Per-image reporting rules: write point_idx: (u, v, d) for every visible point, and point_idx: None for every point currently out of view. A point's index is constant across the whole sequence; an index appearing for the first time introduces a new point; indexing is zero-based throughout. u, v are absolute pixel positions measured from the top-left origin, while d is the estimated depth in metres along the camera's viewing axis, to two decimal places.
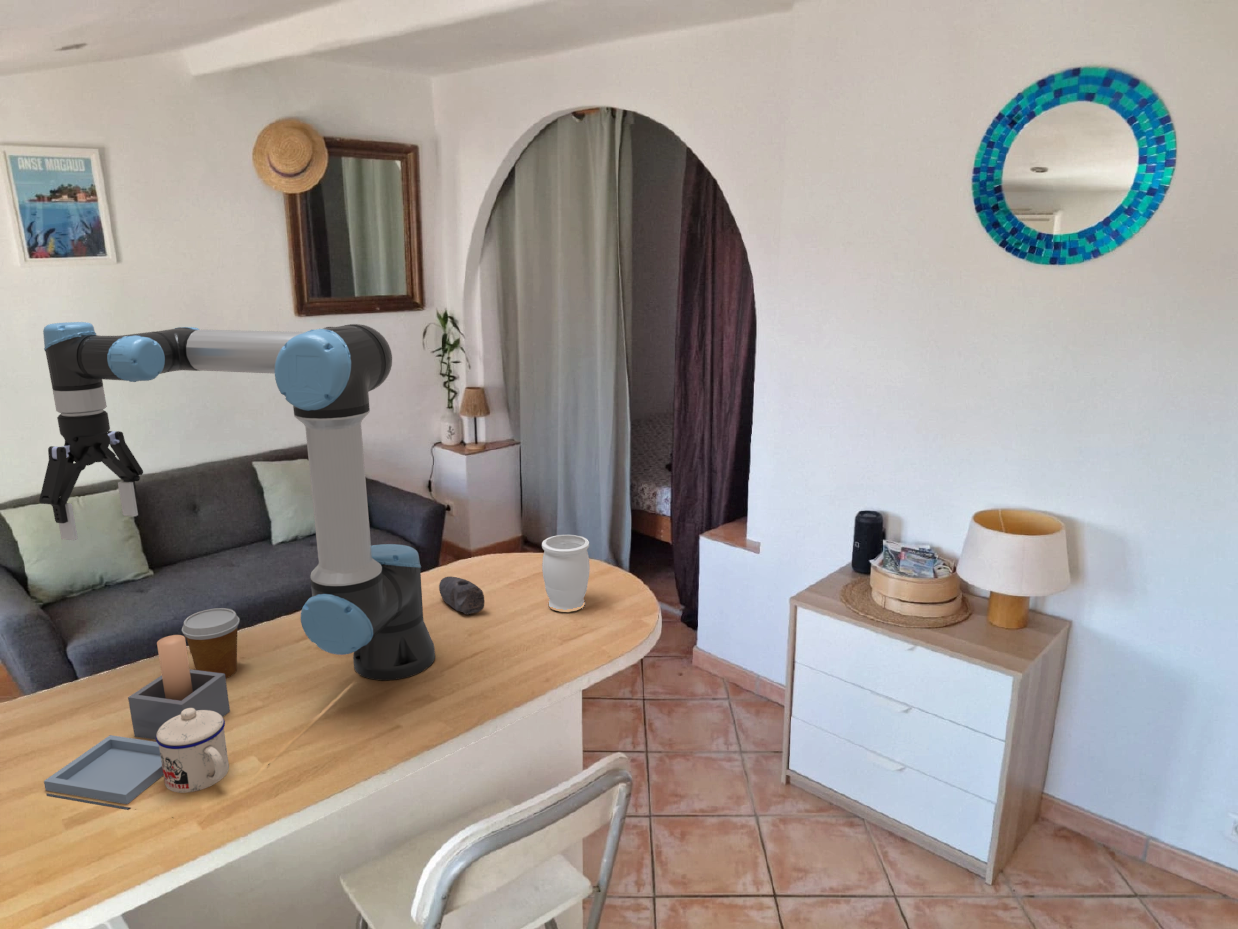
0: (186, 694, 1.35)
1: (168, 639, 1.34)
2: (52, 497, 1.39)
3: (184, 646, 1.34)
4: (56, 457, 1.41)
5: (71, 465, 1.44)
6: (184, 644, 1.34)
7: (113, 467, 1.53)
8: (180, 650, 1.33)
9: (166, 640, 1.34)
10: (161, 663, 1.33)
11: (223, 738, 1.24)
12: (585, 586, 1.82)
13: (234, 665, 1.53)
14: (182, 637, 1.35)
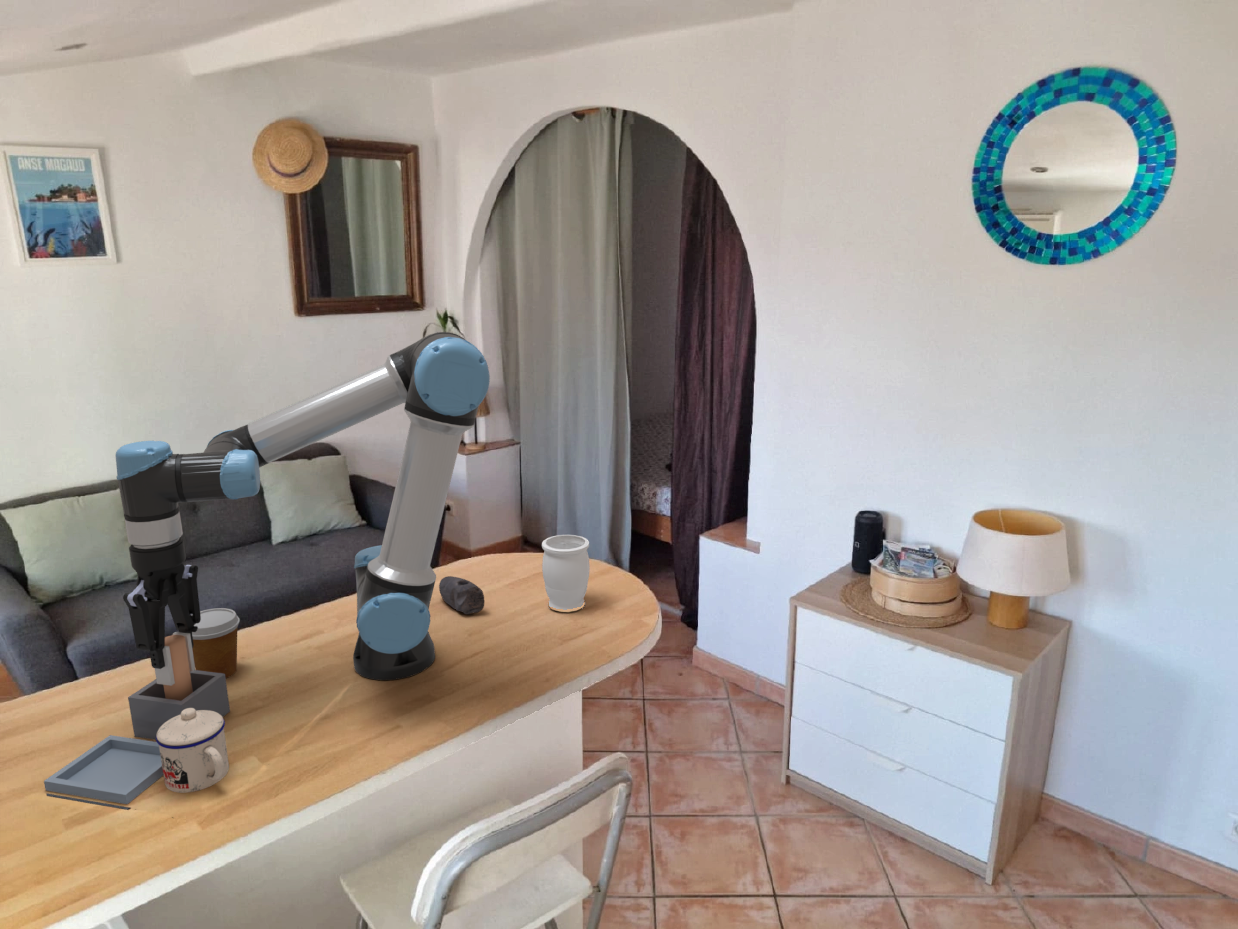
0: (186, 694, 1.35)
1: (168, 639, 1.34)
2: (149, 645, 1.28)
3: (184, 646, 1.34)
4: (135, 606, 1.26)
5: (152, 605, 1.29)
6: (184, 644, 1.34)
7: (175, 609, 1.34)
8: (180, 650, 1.33)
9: (166, 640, 1.34)
10: None
11: (223, 738, 1.24)
12: (585, 586, 1.82)
13: (234, 665, 1.53)
14: (182, 637, 1.35)
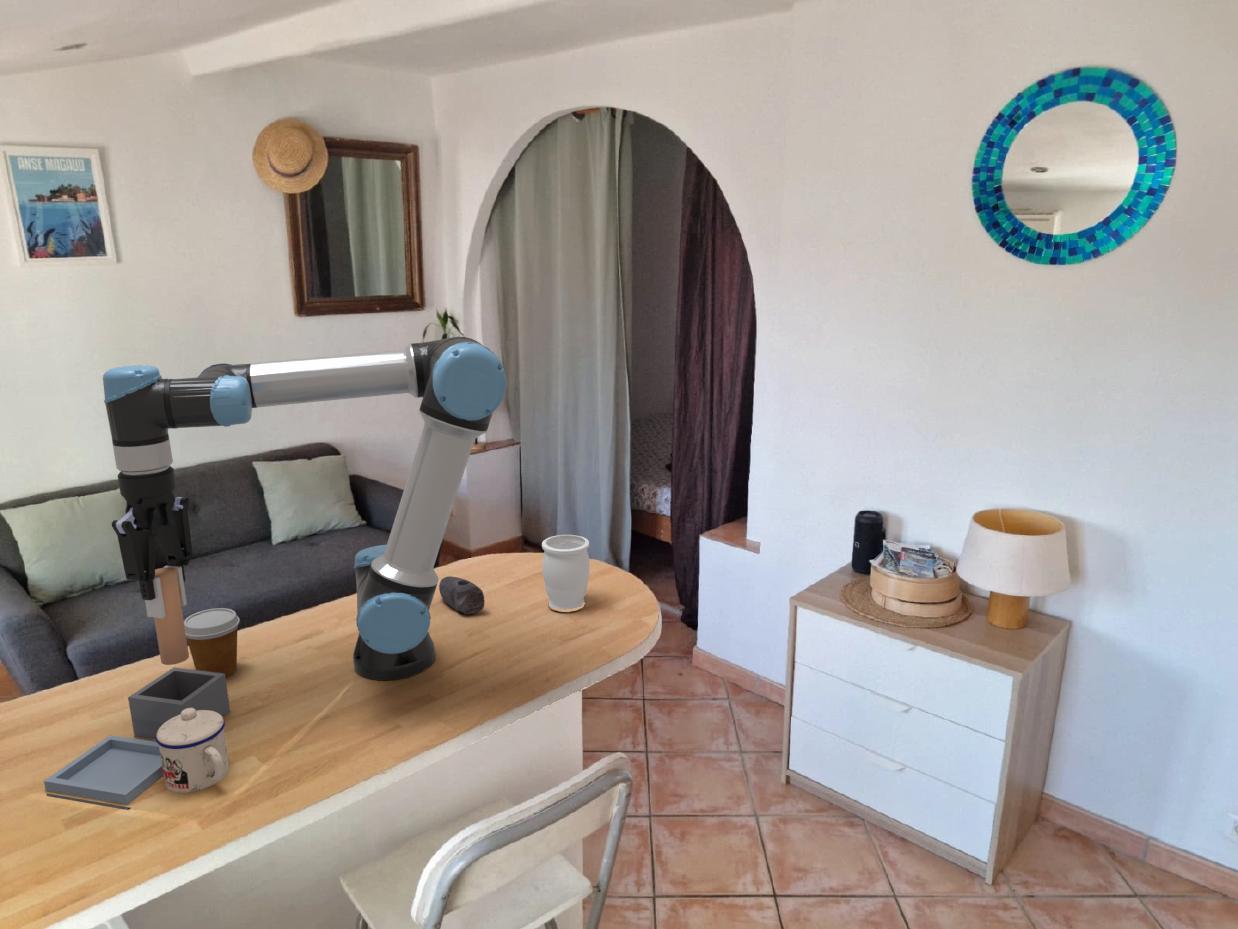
0: (177, 627, 1.32)
1: (158, 571, 1.31)
2: (139, 575, 1.25)
3: (175, 578, 1.31)
4: (124, 533, 1.23)
5: (142, 534, 1.26)
6: (175, 576, 1.31)
7: (165, 541, 1.31)
8: (171, 582, 1.30)
9: (156, 572, 1.31)
10: None
11: (223, 738, 1.24)
12: (585, 586, 1.82)
13: (234, 665, 1.53)
14: (173, 569, 1.32)
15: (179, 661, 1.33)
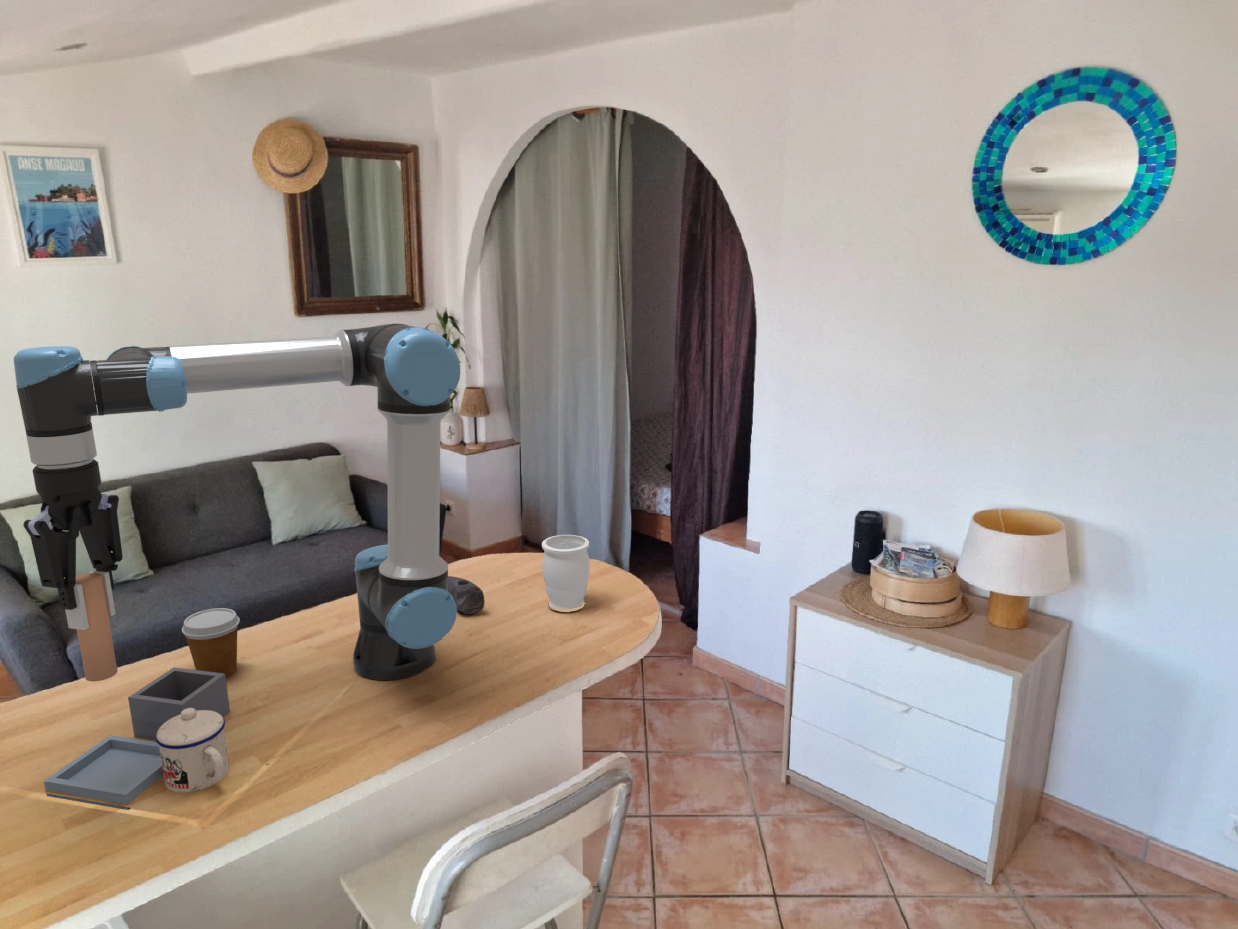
0: (103, 640, 1.18)
1: (82, 577, 1.17)
2: (56, 581, 1.11)
3: (100, 585, 1.17)
4: (38, 534, 1.09)
5: (61, 536, 1.13)
6: (100, 582, 1.17)
7: (90, 544, 1.18)
8: (95, 589, 1.16)
9: (79, 578, 1.17)
10: None
11: (223, 738, 1.24)
12: (585, 586, 1.82)
13: (234, 665, 1.53)
14: (98, 575, 1.18)
15: (105, 677, 1.19)
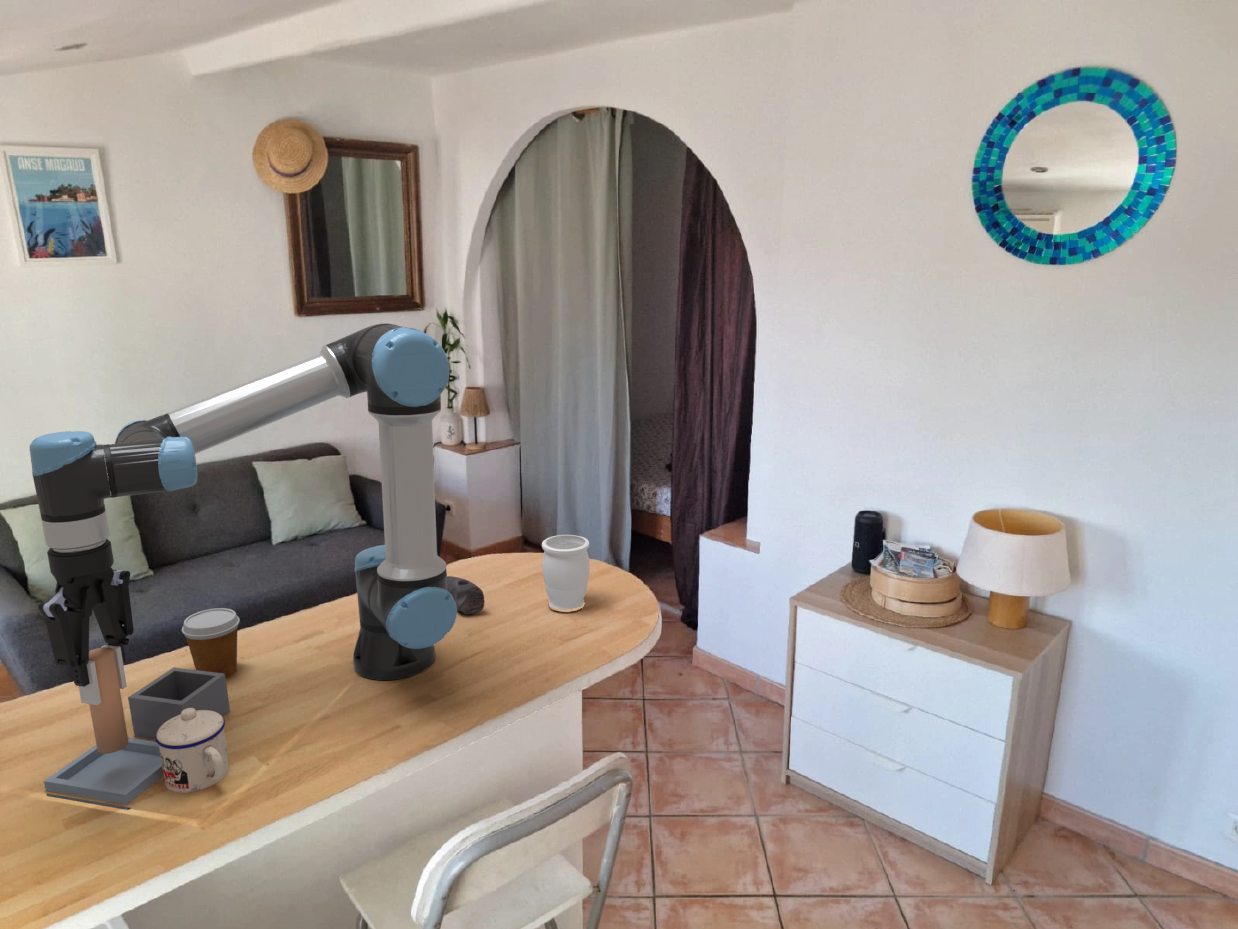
0: (115, 713, 1.21)
1: (94, 653, 1.20)
2: (69, 661, 1.14)
3: (112, 660, 1.20)
4: (53, 616, 1.12)
5: (74, 616, 1.15)
6: (112, 658, 1.20)
7: (102, 620, 1.20)
8: (107, 665, 1.19)
9: (92, 653, 1.20)
10: None
11: (223, 738, 1.24)
12: (585, 586, 1.82)
13: (234, 665, 1.53)
14: (110, 650, 1.21)
15: (117, 749, 1.22)
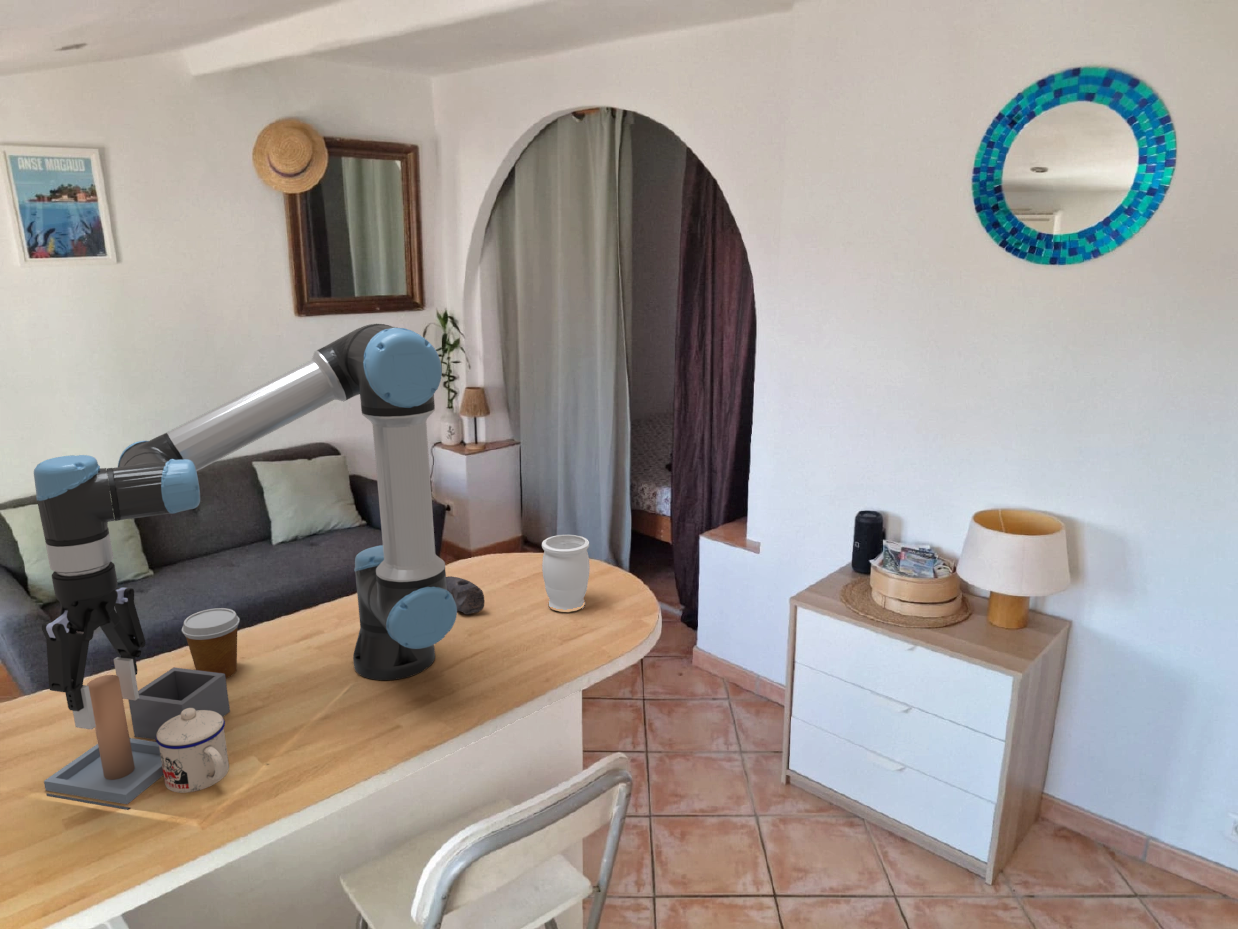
0: (121, 740, 1.22)
1: (100, 681, 1.21)
2: (64, 685, 1.13)
3: (118, 688, 1.21)
4: (54, 637, 1.12)
5: (75, 638, 1.16)
6: (118, 686, 1.21)
7: (112, 637, 1.22)
8: (113, 693, 1.20)
9: (98, 681, 1.21)
10: (92, 707, 1.20)
11: (223, 738, 1.24)
12: (585, 586, 1.82)
13: (234, 665, 1.53)
14: (116, 678, 1.22)
15: (123, 775, 1.23)
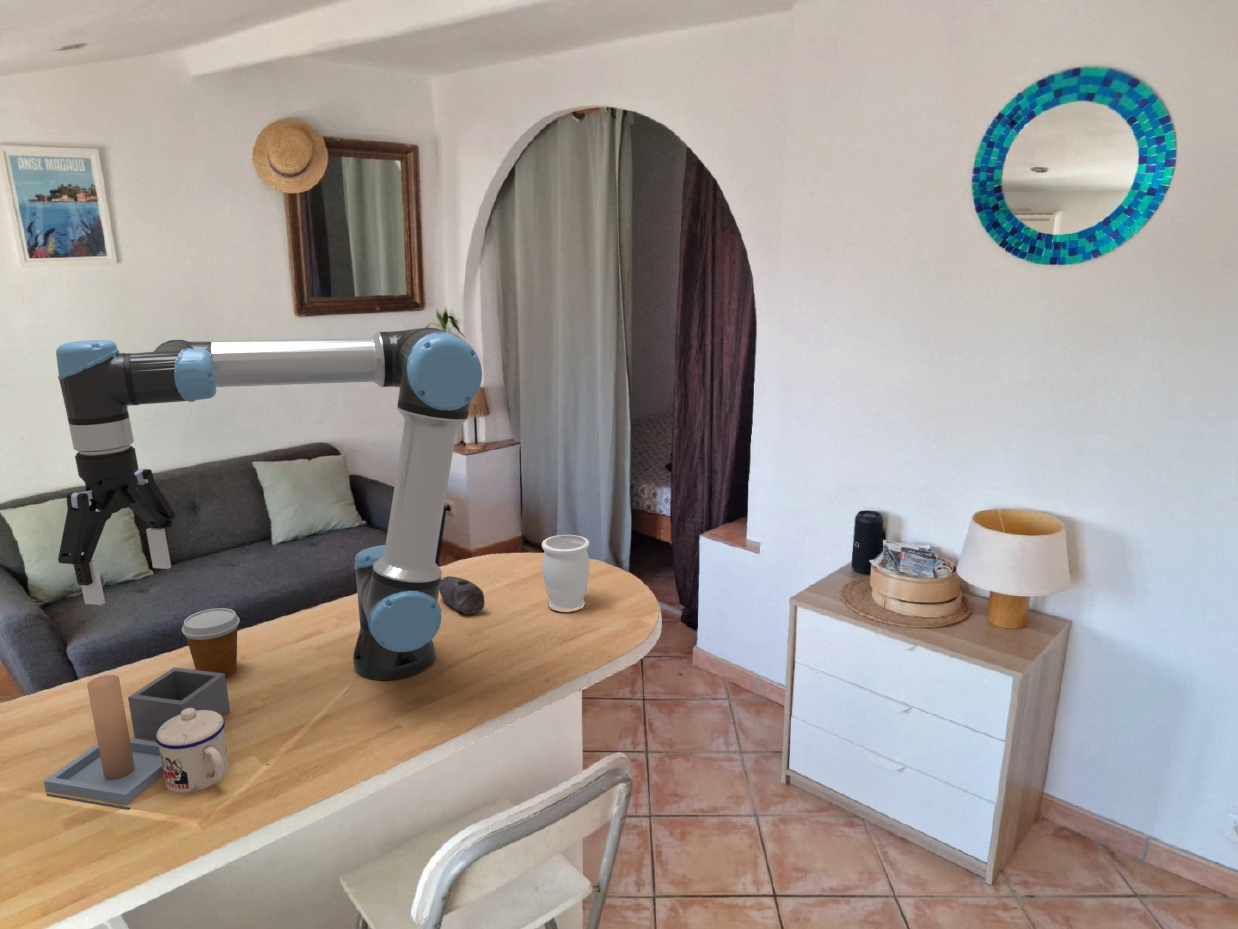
0: (121, 740, 1.22)
1: (100, 681, 1.21)
2: (74, 555, 1.14)
3: (118, 688, 1.21)
4: (77, 506, 1.15)
5: (94, 514, 1.19)
6: (118, 686, 1.21)
7: (141, 513, 1.28)
8: (113, 693, 1.20)
9: (98, 681, 1.21)
10: (92, 707, 1.20)
11: (223, 738, 1.24)
12: (585, 586, 1.82)
13: (234, 665, 1.53)
14: (116, 678, 1.22)
15: (123, 775, 1.23)
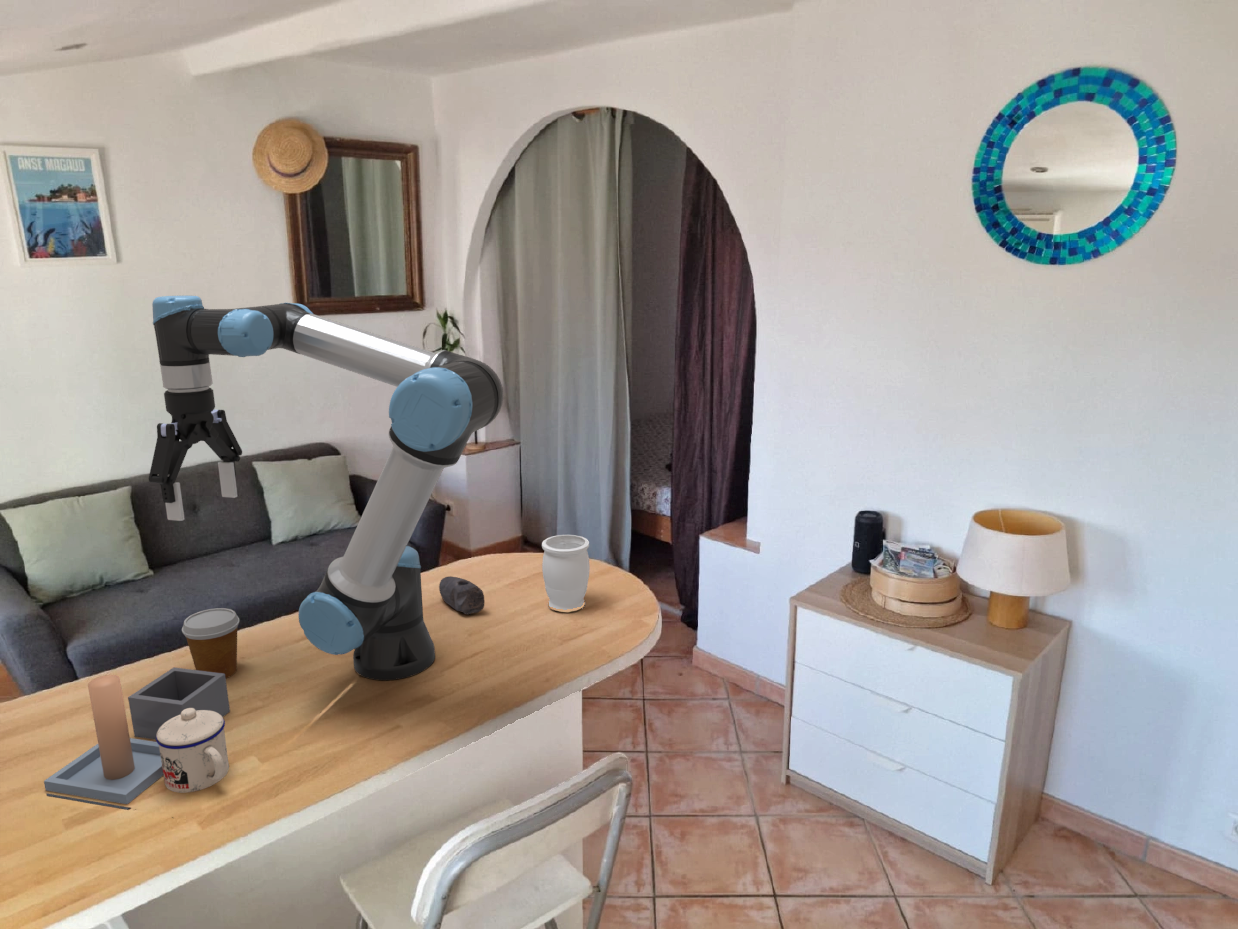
0: (121, 740, 1.22)
1: (101, 680, 1.21)
2: (162, 475, 1.35)
3: (118, 688, 1.21)
4: (165, 434, 1.36)
5: (178, 443, 1.40)
6: (118, 686, 1.21)
7: (214, 447, 1.48)
8: (113, 693, 1.20)
9: (98, 681, 1.21)
10: (92, 707, 1.20)
11: (223, 738, 1.24)
12: (585, 586, 1.82)
13: (234, 665, 1.53)
14: (117, 678, 1.22)
15: (123, 775, 1.23)
